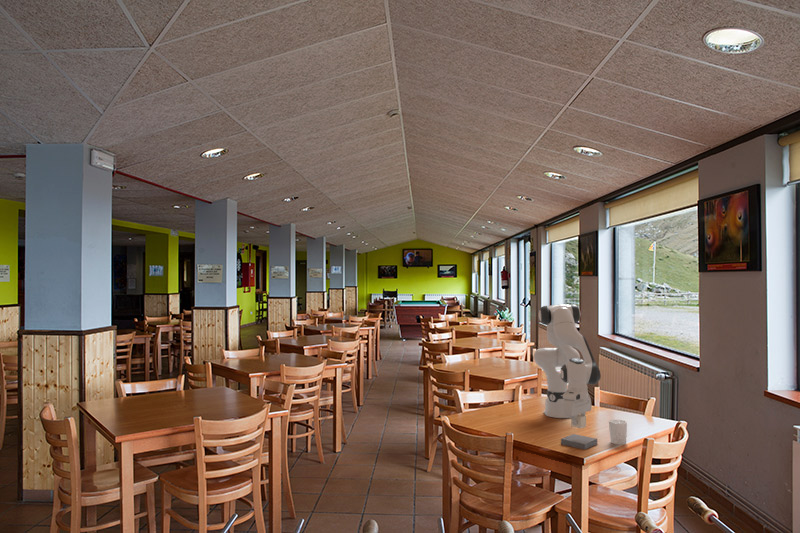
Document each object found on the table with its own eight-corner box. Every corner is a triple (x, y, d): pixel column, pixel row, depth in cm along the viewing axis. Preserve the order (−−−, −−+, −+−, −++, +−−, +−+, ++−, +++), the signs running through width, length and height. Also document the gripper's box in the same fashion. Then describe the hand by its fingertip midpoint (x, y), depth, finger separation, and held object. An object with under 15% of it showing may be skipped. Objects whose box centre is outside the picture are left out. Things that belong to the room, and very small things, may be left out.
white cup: (622, 440, 248) (622, 419, 248) (630, 445, 240) (629, 423, 241) (606, 440, 248) (606, 419, 248) (614, 445, 240) (613, 423, 240)
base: (573, 439, 251) (573, 433, 251) (597, 444, 242) (597, 438, 242) (561, 444, 243) (560, 438, 243) (585, 449, 234) (584, 444, 234)
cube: (576, 424, 246) (576, 414, 246) (586, 426, 242) (586, 415, 243) (571, 426, 243) (570, 415, 243) (581, 428, 239) (580, 417, 239)
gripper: (582, 389, 253) (583, 418, 252) (560, 395, 239) (561, 425, 238) (594, 391, 248) (595, 420, 247) (573, 397, 234) (574, 428, 233)
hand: (578, 423), depth 243 cm, fingers closed on cube, 5 cm apart
